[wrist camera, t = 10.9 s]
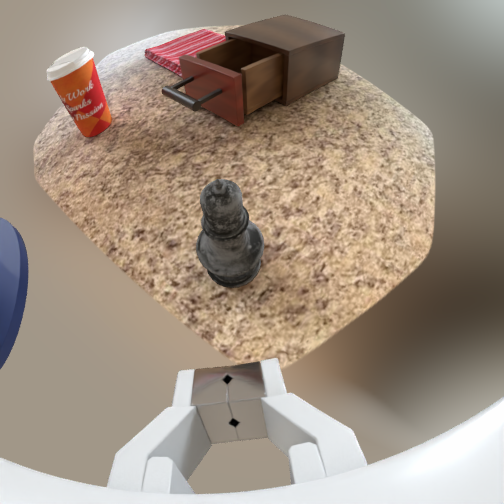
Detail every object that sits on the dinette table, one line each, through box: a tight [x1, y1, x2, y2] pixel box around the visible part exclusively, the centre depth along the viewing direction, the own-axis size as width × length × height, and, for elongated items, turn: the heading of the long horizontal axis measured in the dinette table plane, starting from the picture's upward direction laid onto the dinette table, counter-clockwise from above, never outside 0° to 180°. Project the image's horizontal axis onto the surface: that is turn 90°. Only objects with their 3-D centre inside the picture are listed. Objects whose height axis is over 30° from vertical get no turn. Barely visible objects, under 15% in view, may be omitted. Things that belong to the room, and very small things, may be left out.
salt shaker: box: [196, 179, 264, 288], centre depth 23 cm, size 6×6×12 cm
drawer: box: [162, 38, 285, 126], centre depth 36 cm, size 18×11×8 cm, turn 135°
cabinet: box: [225, 15, 345, 106], centre depth 40 cm, size 15×13×10 cm
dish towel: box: [145, 29, 226, 78], centre depth 48 cm, size 17×24×3 cm
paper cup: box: [47, 47, 112, 137], centre depth 34 cm, size 8×8×14 cm
